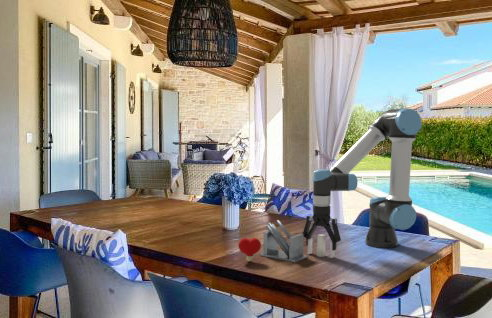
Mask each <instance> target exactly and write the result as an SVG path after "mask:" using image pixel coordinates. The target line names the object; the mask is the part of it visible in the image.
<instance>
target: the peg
mask: <svg viewBox="0 0 492 318" xmlns="http://www.w3.org/2000/svg"><path fill="white" fill-rule="evenodd" d="M326 236H327V235H325V234H317V236H316V243H317V244H316V256H317V257H319V258H324V257H326Z"/></svg>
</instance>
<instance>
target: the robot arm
mask: <svg viewBox="0 0 492 318" xmlns="http://www.w3.org/2000/svg"><path fill="white" fill-rule="evenodd" d="M422 125H423V121H422V117H421V115H420V114H419V113H418V111H417V110H415V109H413V108H409V107H408V108H407V107H405V108H403V107H401V108H395V109H388V110H386V111H384V112H382V113H381V114H380V115H379V116H378V117H377V118H376V119H374V121H372V123H371V124H370V125H369V126H368V130H367V131H366V132H365V133H364V134H363V135H362V136H361V137H360V138H359V139H358V140H357V141H356V142H355V144H353V145H352V146H351V148H349V149H348V151H346V153H344V155H343V156H341V158H340V159H339V160H338V161H336V163H335V164H334V165H333V166H331V167H330V168H329V169H321V168H319V169H315V170H314V171H313V178H312V183H313V184H312V185H313V189H312V191H313V192H312V193H313V194H312V205H313V206H312V214H313V215H310V214H309V215H306V216H305V217H306V222H305V225H304V228H303V231H302V234H304V235H303V238H305V241H306V243H305V244H306V245H305V246H306V247H307V254H308V255H310V254H312V253H313V238H312V236H313V234H314V233H315V231H316V230H317V228H318V227H320V228H321V227H322V228H324V229H325V231H326V232H327V235H328V236H329V239H330V241H331V242H330V243H329V245H330V246H329V247H330V249H329V258H330V259H333V258H335V251H337V243H338V242H341V241H342V240H341V239H342V238H341V235H340V231H339V226H338V219H337V218H335V217H334V218H332V217H331V206H330V205H331V194H332V193H331V192H350V191H355V190H357V188H358V177H357V176H356V174H354V173H351V171H353V169H354V168H356V167H357V166H358V165H359V163H360V162H361V161H362V160H363V159H365V158H366V157H367V156H368V154H369V153H371V151H372V150H373V149H374V148H376V146H378V144H379V143H380V142H383V141H386V139H387V138H388V139H389V140H390V141H391V156H390V157H391V158H390V171H389V172H390V174H389V187H388V188H389V190H388V191H389V192H388V195H387V196H375V197H374V196H372V197H371V198H370V200H369V220H368V221H369V224H368V225H369V228H368V230H367V233H366V237H365V244H366V245H367V246H370V247H373V246H374V247H375V248H381V247H382V248H383V249H385V248H386V249H387V248H389V247H391V248H395V246H396V247H397V246H399V240H398V236H397V234H396V231H395V230H401V231H403V230H404V231H405V230H407V229H410V228H411V227H412V226H413V225H414V224H415V222H416V219H417V211H416V209H415V207H414V206H413V199H412V198H411V197H410V185H411V184H410V181H411V167H412V166H411V165H412V164H411V163H412V149H413V147H412V146H413V142H414V141H416V139H417V138H416V137H417V133H419V131H420V130H421V128H422ZM312 221H313V223H312ZM311 224H312V225H311ZM382 248H381V249H382ZM389 249H390V248H389Z"/></svg>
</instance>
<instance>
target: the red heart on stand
mask: <svg viewBox="0 0 492 318" xmlns="http://www.w3.org/2000/svg"><path fill="white" fill-rule="evenodd" d="M261 247H262V243H261V241H260V240H259V239H258V238H257V237H252V238H250V239H249V238H248V237H243V238H241V239H240V240H239V242H238V249H239V251H240V252H241V253H242V254H244V255H245V256H246V261H247V262H248V263H251V262H252V261H253V260H254V259H253V257H254V255H255V254H256V253H258V252H260V250H261Z"/></svg>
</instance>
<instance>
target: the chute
mask: <svg viewBox="0 0 492 318" xmlns="http://www.w3.org/2000/svg"><path fill="white" fill-rule="evenodd" d="M275 223H277V225H278V226H279V228H280V229H281V231H282V232H283V233H284V235H285V236H286V237H287V238H288V241H287V239H286V238H285V236H283V234H282V233H281V231H280V230H279V228H278V227H277V226H276V225H275ZM275 223H272V222H268V223H267V225H266V227H265V228H266V229H267V231H263V236H262V237H263V241H262V242H263V246H262V247H263V251H262V252H261V253H259V256H261V257H266V258H270V259H276V260H282V261H286V262H293V263H297V262H299V261H302V260H304V259H306V258H308V255H305V254H304V237H303V235H304V234H303V233H298V234H294V235H291V233H290V232H289V231H288V230H287V229H286V227H285V225H284V224H283V223H282V222H281V221H280V220H279V219H277V220H276V222H275ZM279 247H280V248H281V249H282V250H279Z"/></svg>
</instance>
